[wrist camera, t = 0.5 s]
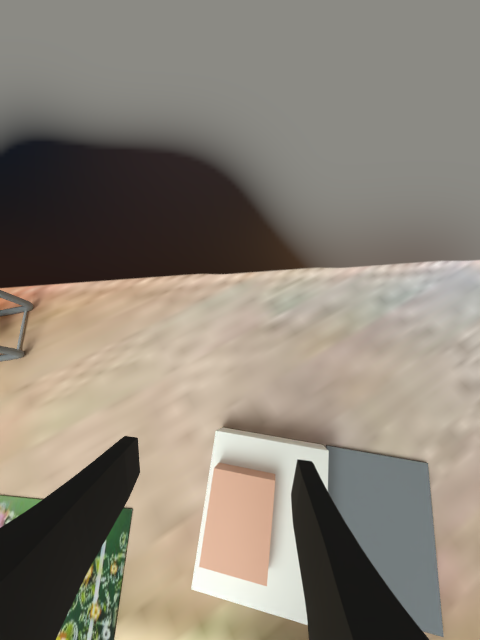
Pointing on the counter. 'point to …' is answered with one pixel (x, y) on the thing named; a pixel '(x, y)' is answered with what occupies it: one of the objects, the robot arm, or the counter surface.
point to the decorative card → (89, 578)
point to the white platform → (283, 568)
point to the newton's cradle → (26, 306)
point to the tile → (239, 523)
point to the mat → (391, 525)
